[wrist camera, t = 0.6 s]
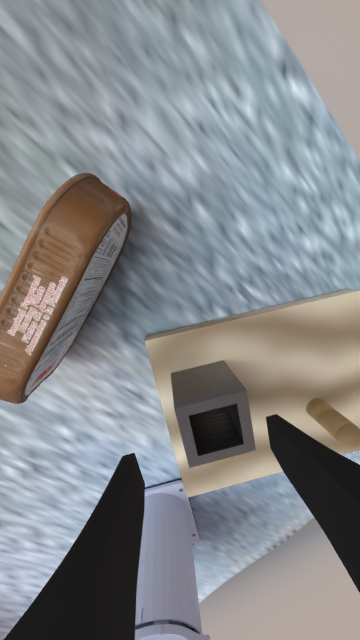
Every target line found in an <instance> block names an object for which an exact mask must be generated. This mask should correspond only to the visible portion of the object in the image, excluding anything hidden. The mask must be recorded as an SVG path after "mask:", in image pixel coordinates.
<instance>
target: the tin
mask: <svg viewBox="0 0 360 640" xmlns="http://www.w3.org/2000/svg"><path fill="white" fill-rule="evenodd" d="M131 221H132V219H131V209H130V205H129V202H128V201H127V200H126V199H125V198H123V197H122V196H121V195H119V194H118V193H116V192H115V191H113V190H112V189H110V188H109V187H108V186H106V185H105V184H103V183H102V182H101V181H100V180H99V178H98V177H96V176H95V175H93V174H90V173H82V174H78V175H75V176H73V177H72V178H70V179H69V180H68V181H66V182H65V183H64V184H63V185H62V186H61V187H60V188H58V189H57V191H56V192H55V193H54V194H53V195H52V196H51V198H50V199H49V200H48V201H47V203H46V204H45V206H44V207H43V209H42V210H41V212H40V213H39V215H38V217H37V219H36V221H35V223H34V225H33V227H32V229H31V231H30V233H29V235H28V237H27V240H26V242H25V244H24V246H23V248H22V251H21V253H20V255H19V257H18V259H17V261H16V263H15V265H14V267H13V270H12V272H11V274H10V276H9V279H8V280H7V282H6V285H5V287H4V289H3V291H2V294H1V296H0V399H1V400H3V401H7V402H11V403H15V404H19V403H23V402H25V401H26V400H27V398H28V397H29V395H30V394H31V393H32V392H33V391H34V390H35V389H36V388H37V387H38V386H39V385H40V384H41V383H42V382H43V381H44V380H45V379H46V378H47V377H49V376H50V375H51V374H52V373H53V372H54V370H55V369H56V368H57V366H58V365H59V363H60V362H61V361H62V359H63V358H64V356H65V355H66V353H67V352H68V350H69V348H70V347H71V345H72V343H73V342H74V340H75V338H76V337H77V335H78V333H79V331H80V329H81V328H82V326H83V324H84V322H85V320H86V319H87V317H88V315H89V313H90V311H91V309H92V308H93V306H94V304H95V302H96V301H97V299H98V297H99V295H100V293H101V291H102V289H103V287H104V285H105V284H106V282H107V280H108V278H109V276H110V274H111V272H112V270H113V268H114V266H115V264H116V262H117V260H118V258H119V256H120V254H121V252H122V249H123V247H124V245H125V243H126V240H127V237H128V234H129V231H130V228H131Z"/></svg>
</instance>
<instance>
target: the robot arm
mask: <svg viewBox="0 0 360 640" xmlns="http://www.w3.org/2000/svg"><path fill="white" fill-rule="evenodd" d="M266 423H267V429H268V436H269V442H270V448H271V450H272V452H273V454H274V456H275V457H276V459H277V461H278V463H279V465H280V466H281V468H282V470H283V471H284V473H285V474H286V476H287V477H288V479H289V480H290V482H291V483H292V485H293V486H294V488H295V489H296V491H297V492H298V494H299V495H300V497H301V498H302V499H303V501H304V502H305V504H306V505H307V507H308V508H309V510H310V511H311V513H312V514H313V516H314V517H315V519H316V520H317V521H318V523H319V525H320V526H321V528H322V529H323V531H324V532H325V534H326V536H327V537H328V539H329V540H330V542H331V544H332V546H333V547H334V549H335V551H336V553H337V554H338V556H339V558H340V559H341V561H342V563H343V565H344V566H345V568H346V569H347V571H348V573H349V575H350V577H351V578H352V580H353V582H354V584H355V585H356V587H357V589H358V591H359V592H360V465H359V464H357V463H355V462H353V461H351V460H349V459H348V458H346V457H344V456H342V455H340V454H339V453H337V452H335V451H333V450H332V449H330V448H328V447H327V446H325V445H323V444H322V443H320V442H318V441H317V440H315V439H314V438H312V437H310V436H309V435H307V434H306V433H304V432H303V431H301V430H300V429H298V428H297V427H295V426H294V425H292V424H291V423H289V422H288V421H286V420H285V419H283V418H282V417H280V416H279V415H277V414H275V415H271V416H267V417H266ZM198 542H199V535H198V532H197V528H196V524H195V520H194V517H193V513H192V509H191V505H190V502H189V498H187V497H186V493H185V490H184V486H183V482H182V480H178V481H174V482H170V483H167V484H163V485H159V486H156V487H152V488H148V489H145V483H144V480H143V477H142V474H141V471H140V468H139V465H138V462H137V459H136V456H135V453H132V454H129V455H125V456H123V457H122V458H121V460H120V462H119V464H118V466H117V468H116V470H115V472H114V474H113V476H112V478H111V480H110V482H109V484H108V486H107V487H106V489H105V491H104V493H103V495H102V497H101V499H100V500H99V502H98V504H97V506H96V508H95V509H94V511H93V513H92V514H91V516H90V518H89V520H88V521H87V523H86V525H85V526H84V528H83V530H82V531H81V533H80V535H79V536H78V538H77V539H76V541H75V543H74V544H73V546H72V547H71V549H70V550H69V552H68V553H67V555H66V556H65V558H64V559H63V561H62V562H61V564H60V565H59V567H58V568H57V570H56V571H55V572H54V574H53V575H52V577H51V578H50V579H49V581H48V582H47V584H46V585H45V586H44V588H43V589H42V591H41V592H40V593H39V595H38V596H37V597H36V599H35V600H34V602H33V603H32V604H31V606H30V607H29V608H28V609H27V611H26V612H25V613H24V615H23V616H22V617H21V619H20V620H19V621H18V622H17V624H16V625H15V626H14V628H13V629H12V630H11V631H10V633H9V634H8V635H7V636H6V638H5V639H4V640H210V636H209V635H203V634H202V628H201V619H200V610H199V602H198V593H197V585H196V576H195V567H194V559H193V550H192V545H193V544H197V543H198Z"/></svg>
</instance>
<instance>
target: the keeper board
mask: <svg viewBox="0 0 360 640" xmlns="http://www.w3.org/2000/svg"><path fill="white" fill-rule="evenodd" d="M145 344H146V348H147V352H148V355H149V359H150V363H151V367H152V370H153V374H154V378H155V382H156V385H157V389H158V393H159V396H160V400H161V404H162V408H163V411H164V415H165V419H166V422H167V426H168V430H169V434H170V437H171V441H172V445H173V449H174V452H175V456H176V460H177V463H178V467H179V471H180V475H181V478H182V482H183V486H184V490H185V493H186V497H187V498H188V497H192V496H196V495H199V494H203V493H206V492H210V491H214V490H217V489H221V488H225V487H228V486H232V485H235V484H239V483H243V482H246V481H250V480H254V479H257V478H261V477H264V476H268V475H272V474H275V473H279V472H283V470H282V468H281V466H280V465H279V463H278V461H277V459H276V457H275V456H274V454H273V452H272V450H271V448H270V442H269V436H268V429H267V423H266V417H267V416H271V415H275V414H277V415H279V416H280V417H282V418H283V419H285V420H286V421H288V422H289V423H291V424H292V425H294V426H295V427H297V428H298V429H300V430H301V431H303V432H304V433H306V434H307V435H309V436H310V437H312V438H314V439H315V440H317V441H318V442H320V443H322V444H323V445H325V446H327V447H328V448H330V449H332V450H333V451H335V452H337V453H339V454H340V455H344V454H348V453H351V452H355V451H359V450H360V290H341V291H337V292H332V293H328V294H324V295H319V296H315V297H311V298H307V299H302V300H298V301H294V302H289V303H285V304H281V305H277V306H272V307H268V308H264V309H260V310H255V311H251V312H247V313H242V314H238V315H234V316H230V317H225V318H221V319H217V320H212V321H208V322H204V323H200V324H195V325H191V326H187V327H182V328H178V329H174V330H170V331H165V332H161V333H157V334H152V335H148V336H146V338H145ZM222 360H224V361H225V362H226V364H227V365H228V366H229V368H230V369H231V370H232V372H233V373H234V374H235V375H236V377H237V378H238V379H239V381H240V382H241V383H242V385H243V386H244V387H245V388H246V390H247V395H248V401H249V408H250V414H251V421H252V427H253V434H254V440H255V447H256V450H255V451H252V452H248V453H244V454H240V455H237V456H233V457H229V458H225V459H222V460H218V461H214V462H211V463H207V464H203V465H199V466H196V467H192V468H189V465H188V461H187V457H186V453H185V449H184V445H183V441H182V438H181V434H180V430H179V426H178V422H177V418H176V414H175V410H174V402H173V392H172V383H171V373H173V372H177V371H181V370H185V369H189V368H193V367H197V366H201V365H206V364H210V363H214V362H218V361H222Z"/></svg>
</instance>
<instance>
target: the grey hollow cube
mask: <svg viewBox="0 0 360 640" xmlns="http://www.w3.org/2000/svg"><path fill="white" fill-rule="evenodd" d="M171 383H172V392H173V402H174V410H175V414H176V418H177V422H178V426H179V430H180V434H181V438H182V441H183V445H184V449H185V453H186V457H187V461H188V465H189V468H192V467H196V466H199V465H203V464H207V463H211V462H214V461H218V460H222V459H225V458H229V457H233V456H237V455H240V454H244V453H248V452H252V451H255V450H256V447H255V440H254V434H253V427H252V421H251V414H250V408H249V401H248V395H247V390H246V388H245V387H244V386H243V385H242V383H241V382H240V381H239V379H238V378H237V377H236V375H235V374H234V373H233V372H232V370H231V369H230V368H229V366H228V365H227V364H226V362H225V361H224V360H222V361H218V362H214V363H210V364H206V365H201V366H197V367H193V368H189V369H185V370H181V371H177V372H173V373H171Z"/></svg>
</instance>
